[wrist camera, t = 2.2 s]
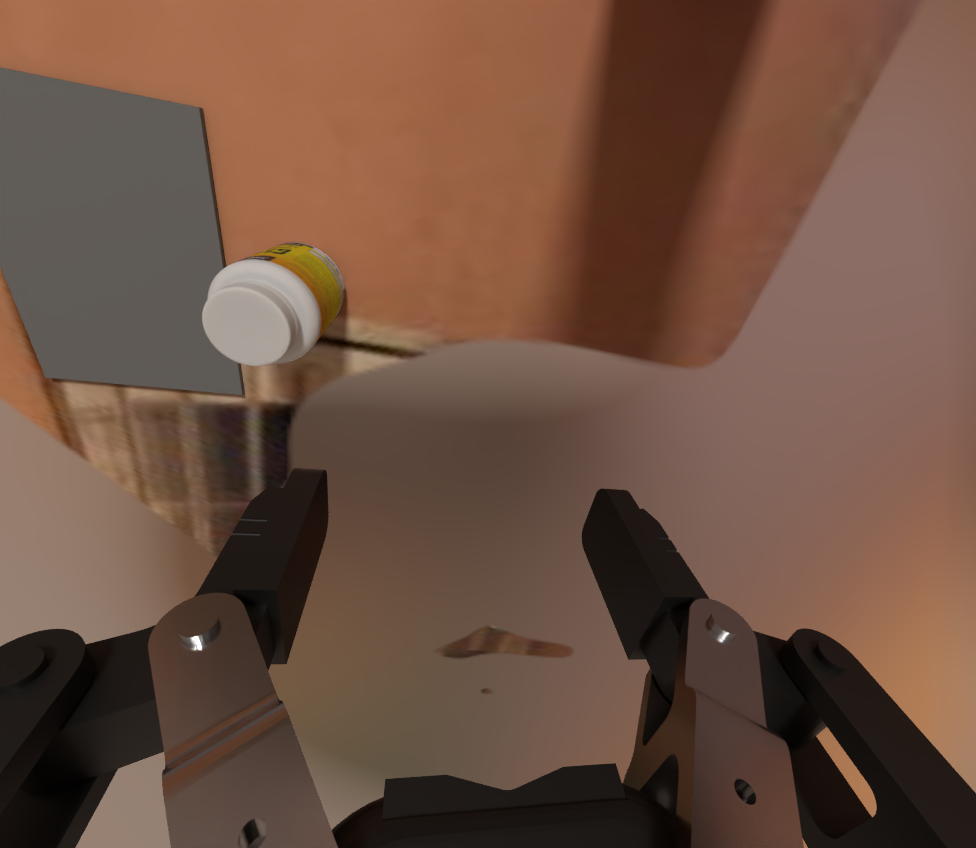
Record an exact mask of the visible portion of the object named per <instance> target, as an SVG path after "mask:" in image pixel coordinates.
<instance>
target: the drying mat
mask: <svg viewBox="0 0 976 848" xmlns="http://www.w3.org/2000/svg"><path fill="white" fill-rule="evenodd" d="M0 267H1V269H2V272H3V274H4V277H5V279H6V281H7V284H8V286H9V289H10V291H11V294H12V296H13V299H14V301H15V303H16V306H17V308H18V311H19V313H20V316H21V318H22V321H23V323H24V326H25V328H26V330H27V333H28V335H29V338H30V340H31V343H32V345H33V348H34V350H35V352H36V355H37V357H38V360H39V362H40V365H41V367H42V370H43V372H44V375H45V377H46V378H56V379H68V380H79V381H90V382H101V383H112V384H124V385H135V386H146V387H157V388H168V389H180V390H191V391H202V392H213V393H224V394H236V395H243V394H244V386H243V379H242V372H241V366H240V363H237V362H235V361H233V360H231V359H229V358H227V357H226V356H224V355H223V354H222V353H221V352H219V351H218V350H217V349H216V348H215V347H214V345H213V344H212V343H211V342H210V340H209V338H208V337H207V335H206V333H205V330H204V327H203V322H202V312H203V308H204V305H205V303H206V301H207V298H208V291H209V288H210V285H211V283H212V281H213V279H214V278H215V276H216V275H217V274H218V273H219V272H220V271H221V270H222V269H224V268H225V267H226V264H225V258H224V251H223V244H222V237H221V231H220V224H219V217H218V210H217V204H216V197H215V190H214V183H213V177H212V170H211V163H210V156H209V149H208V143H207V136H206V129H205V122H204V116H203V109H202V108H199V107H194V106H189V105H184V104H179V103H174V102H169V101H164V100H159V99H154V98H149V97H144V96H139V95H134V94H129V93H124V92H119V91H115V90H110V89H105V88H100V87H95V86H90V85H85V84H80V83H75V82H70V81H65V80H60V79H55V78H50V77H45V76H40V75H35V74H30V73H25V72H20V71H15V70H10V69H5V68H0Z"/></svg>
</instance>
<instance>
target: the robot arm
mask: <svg viewBox="0 0 976 848" xmlns="http://www.w3.org/2000/svg"><path fill="white" fill-rule="evenodd" d="M327 527H328V487H327V472H326V470H316V469H301V468H294V469H293V470H292V472H291V474H290V476H289V478H288V480H287V482H286V484H285V486H284V488H274V487H268V488H267V489H265V490H264V491H263V492H262V493H260V494H259V495H258V496H257V497H255V498H254V499H253V500H251V501H250V503H249V505H248V507H247V508H246V510H245V512H244V514H243V515H242V517H241V521H239V522H238V524H237V526H236V527H235V529H234V531H233V535H232V536H230V538H229V539H228V541H227V543H226V544H225V546H224V548H223V550H222V551H221V553H220V555H219V557H218V558H217V560H216V562H215V563H214V565H213V567H212V569H211V570H210V572H209V574H208V575H207V577H206V579H205V581H204V583H203V584H202V586H201V588H200V589H199V591H198V592H197V594H196V595H195V597H193V598H191V599H188V600H186V601H184V602H182V603H181V604H179V605H177V606H176V607H174V608H173V609H171V610H170V611H169V612H168V613H167V614H165V615H164V616H163V617H162V618H161V619H160V621H159V622H158V623H157V624H156V625H154V626H152V627H150V628H147V629H144V630H140V631H137V632H133V633H130V634H125V635H121V636H118V637H113V638H110V639H106V640H102V641H98V642H94V643H90V644H85V642H84V641H83V639H82V637H81V636H80V635H79V634H77V633H75V632H73V631H70V630H66V629H51V630H50V629H49V630H43V631H38V632H35V633H31V634H28V635H25V636H22V637H20V638H17V639H15V640H13V641H10V642H8V643H6V644H5V645H2V646H1V647H0V848H75V847H76V845H77V843H78V842H79V840H80V838H81V836H82V834H83V832H84V830H85V829H86V827H87V825H88V823H89V821H90V819H91V817H92V816H93V814H94V812H95V810H96V808H97V806H98V805H99V803H100V801H101V799H102V797H103V795H104V794H105V792H106V790H107V788H108V786H109V784H110V782H111V780H112V779H113V777H114V775H115V773H116V771H117V770H118V768H121V767H123V766H126V765H129V764H131V763H134V762H137V761H140V760H142V759H145V758H148V757H150V756H153V755H156V754H159V753H161V752H164V755H165V763H166V764H165V770H163V773H162V786H163V796H164V803H165V810H166V817H167V824H168V831H169V837H170V844H171V848H804V847H803V840H802V838H803V839H804V841H805V843H806V845H807V847H808V848H976V793H975V792H974V791H973V790H972V789H971V787H970V786H969V785H968V784H967V783H966V782H965V781H964V780H963V778H962V777H961V776H960V775H959V774H958V773H957V772H956V771H955V769H954V768H953V767H952V766H951V765H950V764H949V763H948V762H947V760H946V759H945V758H944V757H943V756H942V755H941V754H940V753H939V751H938V750H937V749H936V748H935V747H934V746H933V745H932V744H931V742H930V741H929V740H928V739H927V738H926V737H925V736H924V734H923V733H922V732H921V731H920V730H919V729H918V728H917V727H916V726H915V724H914V723H913V722H912V721H911V720H910V719H909V718H908V716H907V715H906V714H905V713H904V712H903V711H902V710H901V708H899V706H898V705H897V704H896V703H895V702H894V701H893V699H892V698H891V697H890V696H889V695H888V694H887V693H886V692H885V690H884V689H883V688H882V687H881V686H880V685H879V684H878V683H877V682H876V680H875V679H874V678H873V677H872V676H871V675H870V674H869V672H868V671H867V670H866V669H865V668H864V667H863V666H862V664H861V663H860V662H859V661H858V660H857V659H856V658H855V657H854V656H853V655H852V654H851V653H850V652H849V651H848V650H847V649H846V648H845V647H843V646H842V645H841V644H840V643H838V642H836V641H835V640H834V639H832V638H830V637H829V636H826V635H825V634H823V633H820V632H818V631H815V630H811V629H799V630H797V631H796V632H795V633H794V634H793V635H792V636H791V637H790V638H789V639H788V640H787V641H785V640H781V639H778V638H775V637H772V636H768V635H765V634H762V633H759V632H756V631H753V630H752V629H751V627H750V626H749V625H748V623H747V622H746V621H745V620H744V619H743V618H742V617H741V616H740V615H739V614H738V613H737V612H735V611H734V610H733V609H731V608H730V607H728V606H727V605H725V604H723V603H721V602H718V601H716V600H712V599H709V597H708V596H707V594H706V593H705V591H704V590H703V588H702V587H701V585H700V584H699V582H698V581H697V579H696V578H695V576H694V575H693V573H692V572H691V570H690V569H689V567H688V566H687V564H686V563H685V561H684V560H683V558H682V557H681V555H680V554H679V553H678V552H677V551H676V550H677V549H676V548H675V546H674V545H673V543H672V541H671V540H669V539H668V536H667V534H666V532H665V531H664V529H663V528H662V526H661V525H660V523H659V522H658V521H657V520H656V519H655V518H653V517H652V516H651V515H650V514H649V513H648V512H647V511H645V510H644V509H639V507H638V505H637V504H636V502H635V501H634V499H633V497H632V496H631V494H630V493H629V492H628V491H626V490H615V489H614V490H613V489H600V490H598V491H597V493H596V496H595V498H594V500H593V503H592V506H591V508H590V511H589V514H588V516H587V519H586V522H585V524H584V527H583V530H582V544H583V548H584V551H585V553H586V556H587V559H588V561H589V564H590V566H591V568H592V571H593V573H594V576H595V578H596V581H597V583H598V586H599V588H600V591H601V593H602V596H603V598H604V600H605V603H606V605H607V608H608V610H609V613H610V615H611V618H612V620H613V622H614V625H615V628H616V630H617V632H618V635H619V637H620V640H621V642H622V645H623V647H624V650H625V652H626V655H627V657H628V659H629V660H630V659H646V660H647V662H648V664H649V666H650V669H649V671H648V673H647V675H646V678H645V684H644V691H643V697H642V703H641V709H640V716H639V722H638V729H637V735H636V742H635V748H634V753H633V757H632V760H631V763H630V765H629V768H628V770H627V773H626V775H625V778H624V781H623V783H621V780H620V776H619V773H618V770H617V767H616V764H615V763H614V764H600V765H584V766H571V767H562V768H560V769H558V770H556V771H553V772H551V773H549V774H547V775H544V776H542V777H540V778H538V779H536V780H533V781H531V782H529V783H527V784H525V785H522V786H520V787H518V788H516V789H513V790H502V789H498V788H494V787H490V786H486V785H483V784H479V783H475V782H471V781H468V780H464V779H460V778H456V777H453V776H449V775H438V776H425V777H424V776H423V777H409V778H394V779H386V780H385V789H384V797H383V798H380V799H378V800H376V801H373V802H371V803H369V804H367V805H365V806H364V807H362V808H360V809H358V810H357V811H355V812H353V813H352V814H351V815H349V816H348V817H347V818H345V819H344V820H343V821H341V822H340V823H339V824H338V825H337V826H336V827H334V828H333V829H332V830H331V828H330V825H329V823H328V820H327V817H326V814H325V812H324V809H323V806H322V803H321V801H320V798H319V796H318V793H317V790H316V787H315V785H314V782H313V779H312V777H311V774H310V771H309V769H308V766H307V763H306V760H305V758H304V755H303V752H302V750H301V747H300V744H299V742H298V739H297V736H296V733H295V731H294V728H293V725H292V723H291V720H290V717H289V715H288V712H287V710H286V708H285V706H284V704H283V702H282V701H280V700H279V698H278V696H277V694H276V691H275V688H274V686H273V683H272V680H271V677H270V675H269V672H268V670H269V667H270V665H271V664H287V661H288V657H289V654H290V651H291V648H292V644H293V641H294V638H295V635H296V631H297V628H298V625H299V622H300V619H301V615H302V612H303V609H304V606H305V602H306V599H307V596H308V593H309V590H310V586H311V583H312V580H313V577H314V573H315V570H316V567H317V564H318V560H319V557H320V554H321V551H322V548H323V544H324V541H325V537H326V533H327ZM826 727H828V728H829V730H830V731H831V733H832V734H833V735H834V737H835V738H836V740H837V741H838V742H839V744H840V745H841V747H842V748H843V749H844V751H845V752H846V754H847V755H848V756H849V758H850V759H851V760H852V762H853V763H854V765H855V766H856V767H857V769H858V770H859V771H860V773H861V774H862V776H863V777H864V778H865V780H866V781H867V783H868V784H869V786H870V787H871V789H872V791H873V794H874V796H875V799H876V804H877V811H876V814H875V816H874V817H871V815H870V814H869V813H868V811H867V810H866V808H865V807H864V805H863V804H862V802H861V801H860V800H859V798H858V797H857V795H856V794H855V792H854V791H853V790H852V788H851V787H850V785H849V784H848V782H847V781H846V779H845V778H844V776H843V775H842V773H841V772H840V771H839V769H838V768H837V766H836V765H835V763H834V762H833V760H832V759H831V757H830V756H829V755H828V753H827V752H826V750H825V749H824V747H823V746H822V744H821V743H820V741H819V740H818V738H817V737H816V735H818V734H819V733H820V732H821V731H822V730H823V729H825V728H826Z"/></svg>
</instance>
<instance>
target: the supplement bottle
mask: <svg viewBox="0 0 976 848" xmlns="http://www.w3.org/2000/svg"><path fill="white" fill-rule="evenodd" d="M344 299H345V284H344V280H343V277H342V274H341V272H340V270H339V269H338V267H337V266H336V264H335V263H334V262H333V261H332V259H331V258H330V257H329V256H327V255H326V254H325V253H324V252H322V251H321V250H319V249H317V248H315V247H313V246H311V245H308V244H304V243H295V242H293V243H285V244H281V245H278V246H276V247H273V248H271V249H268V250H265V251H263V252H260V253H258V254H255V255H252V256H250V257H247V258H245V259H242V260H240V261H237V262H234V263H232V264H230V265H228V266H227V267H225V268H224V269H222V270H221V271H220V272H219V273H218V274H217V275H216V276H215V278H214V279H213V281H212V283H211V285H210V288H209V291H208V298H207V301H206V303H205V305H204V308H203V312H202V322H203V327H204V330H205V333H206V335H207V337H208V338H209V340H210V342H211V343H212V344H213V345H214V347H215V348H216V349H217V350H218V351H219V352H221V353H222V354H223V355H224V356H226V357H227V358H229V359H231V360H233V361H235V362H237V363H240V364H243V365H247V366H266V365H270V364H282V363H288V362H291V361H295V360H297V359H299V358H301V357H302V356H304V355H305V354H306V353H308V352H309V351H310V350H311V348H312V347H313V346H314V345H315V344H316V342H317V341H318V340H319V338H320V337H321V336H322V334H323V333H324V332H325V330H326V329H327V328H328V327H329V325H330V324H331V323H332V321H333V320H334V319H335V317H336V316H337V315H338V313H339V312H340V310H341V308H342V306H343V303H344Z"/></svg>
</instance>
